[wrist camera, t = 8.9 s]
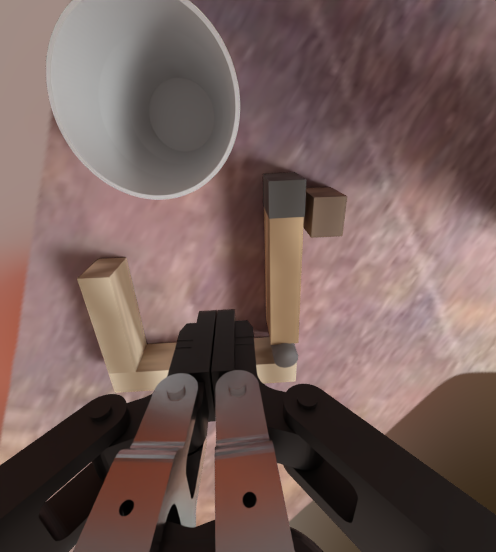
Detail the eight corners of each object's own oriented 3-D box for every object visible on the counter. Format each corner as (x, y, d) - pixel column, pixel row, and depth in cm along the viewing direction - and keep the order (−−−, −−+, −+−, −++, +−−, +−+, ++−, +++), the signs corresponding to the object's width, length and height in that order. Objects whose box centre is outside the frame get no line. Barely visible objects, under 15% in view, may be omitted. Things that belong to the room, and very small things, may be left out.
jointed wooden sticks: (330, 186, 24) (347, 196, 21) (314, 352, 32) (324, 379, 29) (80, 197, 23) (53, 208, 20) (128, 363, 31) (115, 392, 28)
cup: (258, 114, 21) (278, 100, 13) (191, 195, 24) (166, 232, 15) (170, 17, 19) (114, -90, 10) (104, 119, 21) (10, 108, 12)
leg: (294, 172, 23) (308, 180, 19) (290, 334, 31) (299, 366, 26) (262, 173, 23) (269, 183, 19) (266, 335, 30) (271, 368, 26)
